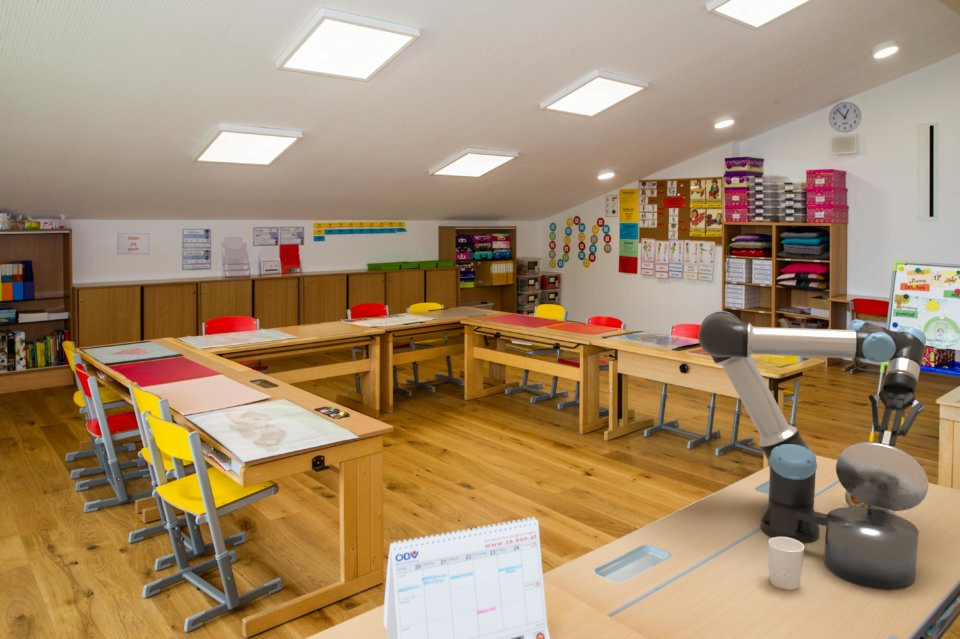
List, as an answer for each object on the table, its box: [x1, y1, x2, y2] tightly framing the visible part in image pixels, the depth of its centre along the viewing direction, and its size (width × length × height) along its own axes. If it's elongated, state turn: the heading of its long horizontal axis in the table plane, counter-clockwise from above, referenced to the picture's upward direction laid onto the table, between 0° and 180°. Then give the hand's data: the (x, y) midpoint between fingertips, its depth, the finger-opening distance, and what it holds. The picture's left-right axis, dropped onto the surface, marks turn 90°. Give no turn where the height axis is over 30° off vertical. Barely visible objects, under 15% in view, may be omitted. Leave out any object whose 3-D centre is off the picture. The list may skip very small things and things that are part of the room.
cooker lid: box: [835, 441, 929, 515], centre depth 181 cm, size 21×21×4 cm
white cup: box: [768, 537, 805, 591], centre depth 171 cm, size 8×8×10 cm
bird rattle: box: [844, 490, 868, 508], centre depth 213 cm, size 6×11×9 cm
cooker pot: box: [795, 506, 920, 591], centre depth 179 cm, size 28×20×12 cm
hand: (883, 455), depth 180 cm, fingers closed
